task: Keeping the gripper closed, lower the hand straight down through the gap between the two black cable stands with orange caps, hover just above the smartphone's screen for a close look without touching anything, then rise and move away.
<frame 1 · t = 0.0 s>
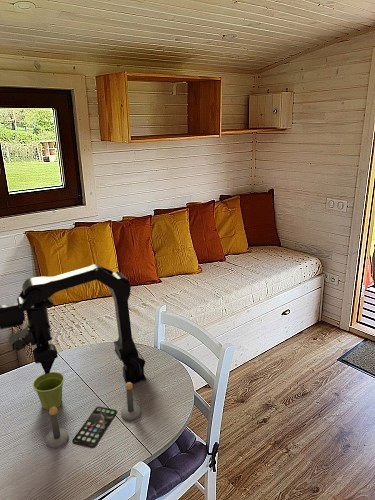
hand: (45, 365, 117), 15 cm above the table, tool pointing down, fingers open, 9 cm apart
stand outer: (57, 439, 108), on the table
smartphone: (96, 427, 113), on the table
stand inner: (131, 413, 118), on the table
plant pot: (52, 404, 122), on the table
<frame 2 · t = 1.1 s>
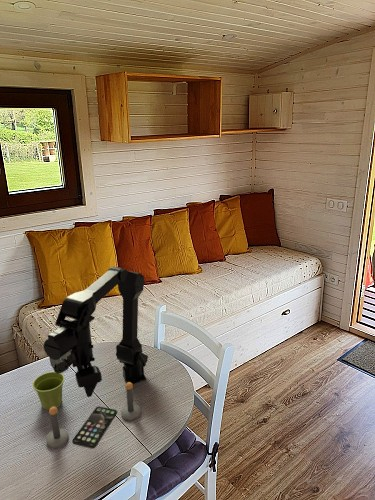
hand: (85, 386, 110), 13 cm above the table, tool pointing down, fingers open, 9 cm apart
nothing on the table moved.
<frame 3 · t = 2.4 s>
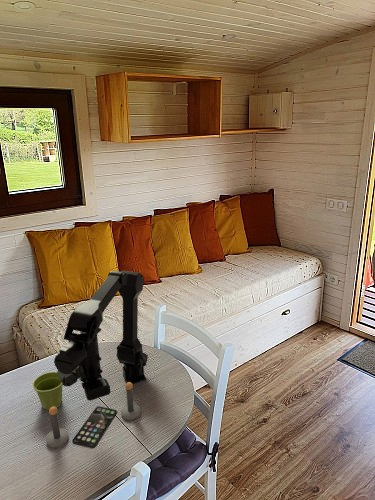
hand: (93, 398, 110), 10 cm above the table, tool pointing down, fingers closed
nothing on the table moved.
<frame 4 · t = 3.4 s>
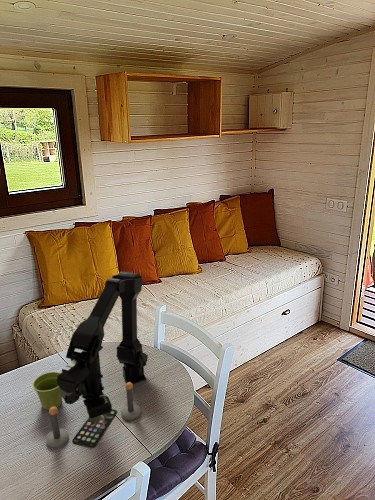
hand: (94, 414, 112), 4 cm above the table, tool pointing down, fingers closed
nothing on the table moved.
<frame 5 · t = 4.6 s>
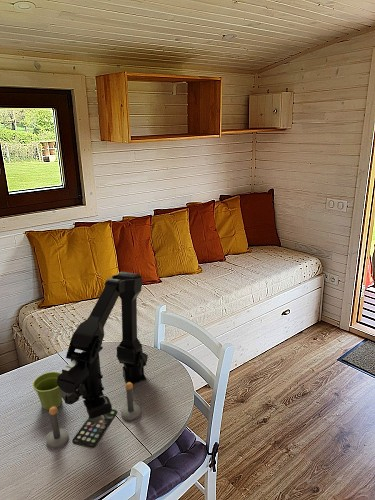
hand: (94, 414, 112), 4 cm above the table, tool pointing down, fingers closed
nothing on the table moved.
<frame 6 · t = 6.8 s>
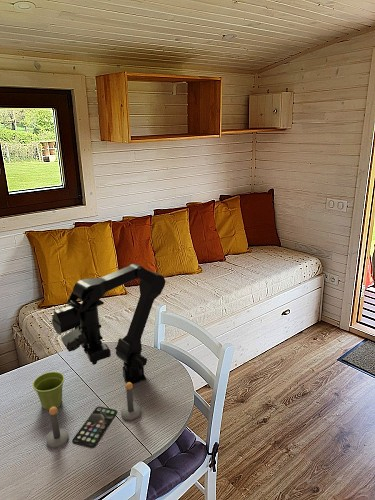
hand: (94, 363, 120), 13 cm above the table, tool pointing down, fingers closed
nothing on the table moved.
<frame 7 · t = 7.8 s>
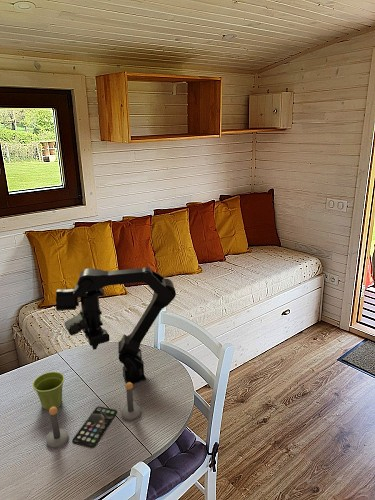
hand: (94, 348, 128), 13 cm above the table, tool pointing down, fingers closed
nothing on the table moved.
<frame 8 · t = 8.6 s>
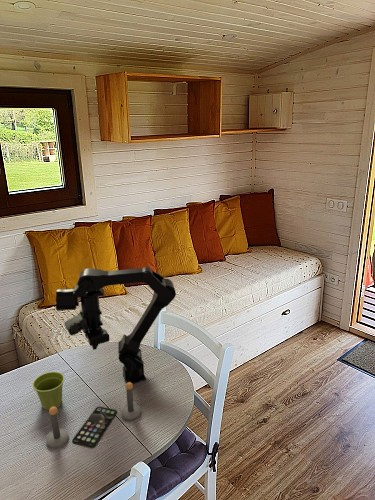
hand: (94, 348, 128), 13 cm above the table, tool pointing down, fingers closed
nothing on the table moved.
at the end: stand inner moved 0.0 cm from its start; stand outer moved 0.0 cm from its start; smartphone moved 0.6 cm from its start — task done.
